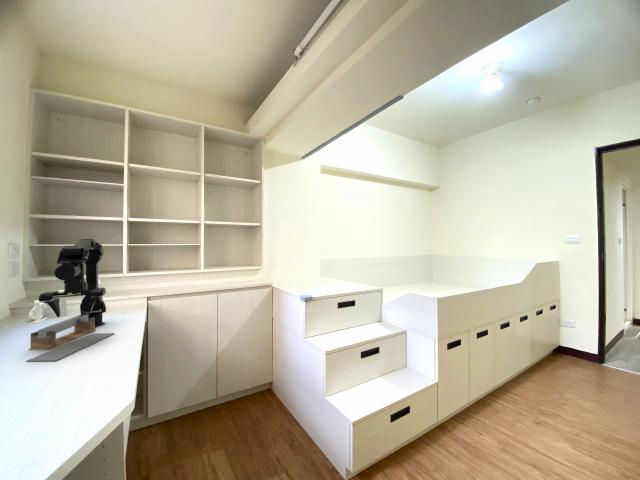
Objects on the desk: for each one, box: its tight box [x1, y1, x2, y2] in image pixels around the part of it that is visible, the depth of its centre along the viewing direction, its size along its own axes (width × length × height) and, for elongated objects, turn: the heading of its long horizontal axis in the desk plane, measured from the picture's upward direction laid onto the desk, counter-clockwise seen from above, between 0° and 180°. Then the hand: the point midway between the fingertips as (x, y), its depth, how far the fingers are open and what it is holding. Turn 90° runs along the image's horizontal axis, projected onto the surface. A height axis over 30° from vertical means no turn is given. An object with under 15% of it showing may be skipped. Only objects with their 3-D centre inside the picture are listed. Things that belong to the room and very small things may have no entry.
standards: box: [28, 317, 97, 351], centre depth 107 cm, size 22×7×6 cm, turn 2°
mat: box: [25, 332, 115, 363], centre depth 100 cm, size 10×26×1 cm, turn 2°
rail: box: [37, 313, 88, 338], centre depth 107 cm, size 22×3×3 cm, turn 9°
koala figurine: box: [28, 299, 48, 324], centre depth 131 cm, size 8×7×12 cm
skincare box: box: [43, 289, 68, 319], centre depth 140 cm, size 8×6×15 cm
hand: (74, 315), depth 101 cm, fingers open, 9 cm apart
